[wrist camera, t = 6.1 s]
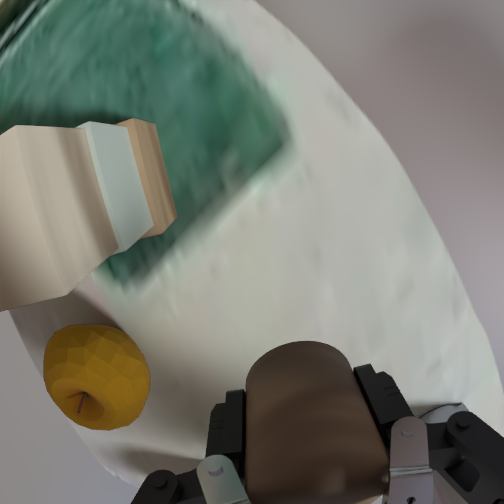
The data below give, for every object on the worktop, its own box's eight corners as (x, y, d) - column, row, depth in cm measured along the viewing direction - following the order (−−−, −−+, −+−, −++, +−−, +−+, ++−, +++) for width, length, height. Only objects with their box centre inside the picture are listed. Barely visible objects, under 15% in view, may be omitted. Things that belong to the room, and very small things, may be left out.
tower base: (155, 124, 21) (133, 118, 16) (178, 216, 23) (162, 233, 18) (74, 153, 21) (39, 155, 17) (96, 237, 23) (67, 258, 19)
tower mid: (126, 127, 16) (89, 121, 12) (153, 225, 18) (125, 250, 13) (46, 161, 17) (-3, 169, 12) (72, 249, 18) (31, 278, 14)
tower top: (85, 129, 12) (15, 125, 7) (119, 247, 13) (66, 295, 9) (1, 172, 12) (-68, 188, 7) (33, 273, 14) (-26, 318, 9)
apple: (57, 306, 25) (4, 360, 16) (140, 290, 25) (100, 354, 16) (95, 384, 28) (63, 447, 19) (175, 377, 27) (157, 451, 19)
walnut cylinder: (349, 330, 13) (403, 435, 7) (352, 408, 14) (386, 505, 8) (234, 352, 13) (227, 471, 7) (256, 427, 14) (259, 530, 8)
